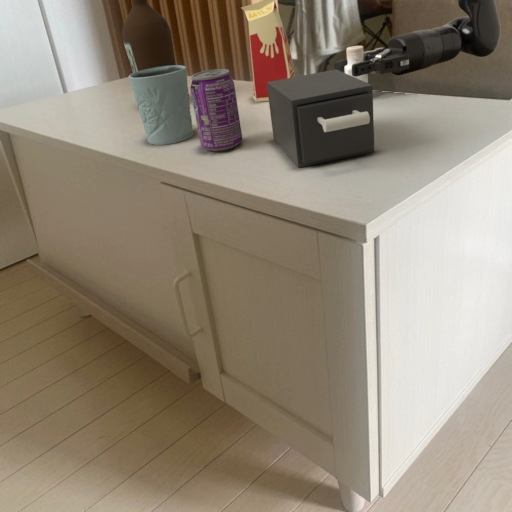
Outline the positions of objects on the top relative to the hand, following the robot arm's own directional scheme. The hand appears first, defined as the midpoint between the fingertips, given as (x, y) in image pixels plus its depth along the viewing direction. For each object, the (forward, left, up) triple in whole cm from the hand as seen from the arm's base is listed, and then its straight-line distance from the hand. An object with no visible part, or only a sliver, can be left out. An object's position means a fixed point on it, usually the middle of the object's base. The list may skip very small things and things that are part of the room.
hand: (344, 69), depth 103 cm
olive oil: (+45, +5, -6) cm, 45 cm away
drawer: (-10, +28, -5) cm, 31 cm away
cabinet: (-7, +26, -6) cm, 27 cm away
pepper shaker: (-1, -2, -6) cm, 7 cm away
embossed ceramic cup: (+24, +26, -6) cm, 36 cm away
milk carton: (+19, -3, -6) cm, 20 cm away
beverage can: (+10, +29, -6) cm, 31 cm away
